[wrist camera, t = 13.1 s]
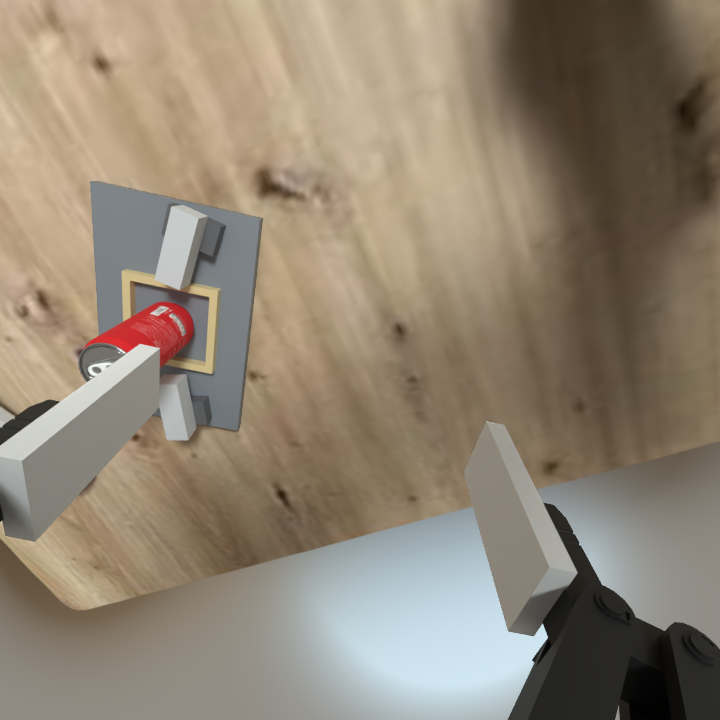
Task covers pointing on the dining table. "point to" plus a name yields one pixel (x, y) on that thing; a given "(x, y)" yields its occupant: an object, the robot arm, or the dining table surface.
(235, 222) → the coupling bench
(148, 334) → the beverage can
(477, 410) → the dining table surface
